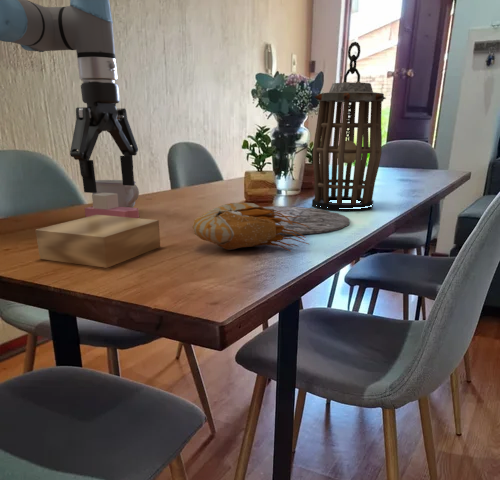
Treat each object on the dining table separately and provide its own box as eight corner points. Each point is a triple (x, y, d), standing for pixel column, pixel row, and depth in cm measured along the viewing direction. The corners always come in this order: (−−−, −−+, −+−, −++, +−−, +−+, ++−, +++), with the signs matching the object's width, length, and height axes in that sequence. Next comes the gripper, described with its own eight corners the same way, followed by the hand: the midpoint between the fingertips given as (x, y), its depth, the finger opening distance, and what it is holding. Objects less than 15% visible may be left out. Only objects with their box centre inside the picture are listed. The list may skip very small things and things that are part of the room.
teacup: (86, 212, 130) (83, 179, 127) (124, 207, 137) (121, 176, 134) (113, 219, 120) (110, 184, 117) (152, 214, 127) (150, 181, 124)
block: (39, 258, 87) (35, 229, 85) (99, 240, 100) (96, 214, 98) (107, 268, 82) (103, 237, 80) (160, 246, 95) (158, 220, 93)
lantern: (387, 205, 144) (405, 43, 128) (363, 215, 129) (379, 33, 113) (324, 199, 153) (334, 48, 138) (295, 207, 138) (302, 39, 122)
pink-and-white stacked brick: (86, 223, 116) (82, 194, 113) (100, 220, 120) (97, 191, 117) (132, 228, 111) (129, 197, 109) (145, 224, 116) (143, 194, 113)
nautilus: (316, 247, 98) (293, 271, 85) (216, 231, 105) (180, 250, 92) (321, 206, 94) (297, 224, 82) (216, 192, 101) (179, 207, 89)
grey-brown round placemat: (368, 214, 128) (368, 213, 128) (317, 241, 100) (317, 239, 100) (251, 204, 143) (251, 202, 142) (178, 224, 114) (178, 223, 114)
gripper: (72, 77, 93) (87, 196, 101) (148, 85, 114) (155, 183, 122) (40, 79, 95) (57, 195, 104) (120, 86, 117) (129, 182, 125)
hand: (110, 188), depth 113 cm, fingers open, 13 cm apart
